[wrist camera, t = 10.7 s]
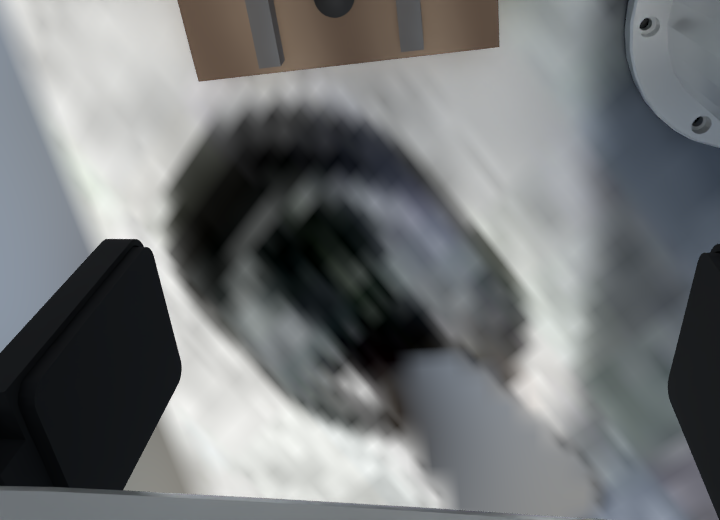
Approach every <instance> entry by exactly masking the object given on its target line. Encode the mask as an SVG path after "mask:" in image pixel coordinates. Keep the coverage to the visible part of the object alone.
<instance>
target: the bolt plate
mask: <svg viewBox="0 0 720 520" xmlns="http://www.w3.org/2000/svg"><path fill="white" fill-rule="evenodd" d="M178 4H179V8H180V12H181V16H182V19H183V23H184V27H185V31H186V35H187V39H188V42H189V46H190V50H191V54H192V58H193V62H194V65H195V69H196V73H197V77H198V81H208V80H216V79H225V78H234V77H243V76H251V75H260V74H269V73H277V72H286V71H295V70H304V69H312V68H321V67H330V66H338V65H347V64H356V63H364V62H373V61H382V60H391V59H399V58H408V57H417V56H425V55H434V54H443V53H451V52H460V51H469V50H478V49H486V48H495V47H499V17H498V0H178Z"/></svg>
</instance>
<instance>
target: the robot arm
mask: <svg viewBox="0 0 720 520" xmlns="http://www.w3.org/2000/svg"><path fill="white" fill-rule="evenodd" d="M645 18H649V23H648V25H647V26H646V27H645V28H640V23H641V22H642V21H643V20H644V19H645ZM624 32H625V45H626V58H627V61H628V65H629V68H630V72H631V75H632V78H633V82H634V83H635V85H636V87H637V89H638V90H639V92H640V94H641V96H642V98H643V99H644V101H645V102H646V103H647V104H648V106H649V107H650V108H651V109H652V110H653V111H654V113H655V114H656V115H657V116H658V117H659V118H660V119H662V120H663V121H664V122H665V123H666V124H667V125H669V126H670V127H671V128H672V129H673V130H674V131H676V132H678V133H680V134H682V135H683V136H685V137H687V138H689V139H691V140H693V141H695V142H699V143H703V144H706V145H710V146H713V147H717V148H720V0H629V2H628V7H627V15H626V23H625V31H624ZM698 117H700V118H699V120H698V121H697V122H696V123H693V121H694V120H695V119H696V118H698ZM180 377H181V360H180V356H179V352H178V349H177V345H176V341H175V337H174V333H173V329H172V325H171V321H170V318H169V314H168V310H167V306H166V302H165V298H164V294H163V290H162V287H161V283H160V279H159V275H158V271H157V267H156V263H155V259H154V256H153V253H152V251H151V249H150V248H148V247H144V246H143V244H142V243H141V242H140V241H139V240H137V239H105V240H104V241H103V242H101V244H100V245H99V246H98V247H97V248H96V249H95V250H94V251H93V252H92V253H91V254H90V256H89V257H88V258H87V259H86V260H85V261H84V262H83V263H82V264H81V266H80V267H79V268H78V269H77V270H76V271H75V272H74V273H73V274H72V275H71V276H70V277H69V279H68V280H67V281H66V282H65V283H64V284H63V285H62V286H61V287H60V288H59V289H58V291H57V292H56V293H55V294H54V295H53V296H52V297H51V298H50V299H49V300H48V301H47V303H46V304H45V305H44V306H43V307H42V308H41V309H40V310H39V311H38V312H37V314H36V315H35V316H34V317H33V318H32V319H31V320H30V321H29V322H28V323H27V324H26V325H25V327H24V328H23V329H22V330H21V331H20V332H19V333H18V334H17V335H16V336H15V337H14V339H13V340H12V341H11V342H10V343H9V344H8V345H7V346H6V347H5V348H4V350H3V351H2V352H1V353H0V520H605V519H590V518H575V517H560V516H543V515H530V514H514V513H498V512H484V511H469V510H452V509H436V508H420V507H404V506H387V505H371V504H354V503H338V502H321V501H304V500H287V499H270V498H252V497H234V496H216V495H198V494H179V493H160V492H142V491H124V490H123V489H124V487H125V485H126V483H127V481H128V479H129V478H130V475H131V474H132V472H133V470H134V468H135V466H136V464H137V462H138V460H139V458H140V456H141V454H142V452H143V451H144V449H145V447H146V445H147V443H148V441H149V439H150V437H151V435H152V433H153V431H154V429H155V427H156V426H157V424H158V422H159V420H160V418H161V416H162V414H163V412H164V410H165V408H166V406H167V404H168V402H169V400H170V399H171V397H172V395H173V393H174V391H175V389H176V387H177V385H178V383H179V381H180ZM668 394H669V399H670V402H671V404H672V407H673V409H674V412H675V414H676V416H677V419H678V421H679V424H680V426H681V428H682V431H683V433H684V436H685V438H686V441H687V443H688V445H689V448H690V450H691V453H692V455H693V457H694V460H695V462H696V465H697V467H698V470H699V472H700V474H701V477H702V479H703V482H704V484H705V486H706V489H707V491H708V494H709V496H710V499H711V501H712V503H713V506H714V508H715V511H716V513H717V515H718V518H719V520H720V244H717V245H715V246H714V247H713V249H712V250H711V253H703V254H701V256H700V257H699V260H698V263H697V267H696V271H695V275H694V279H693V283H692V287H691V291H690V295H689V299H688V303H687V307H686V311H685V315H684V319H683V323H682V327H681V331H680V335H679V339H678V343H677V347H676V351H675V355H674V359H673V363H672V367H671V371H670V375H669V380H668Z"/></svg>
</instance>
